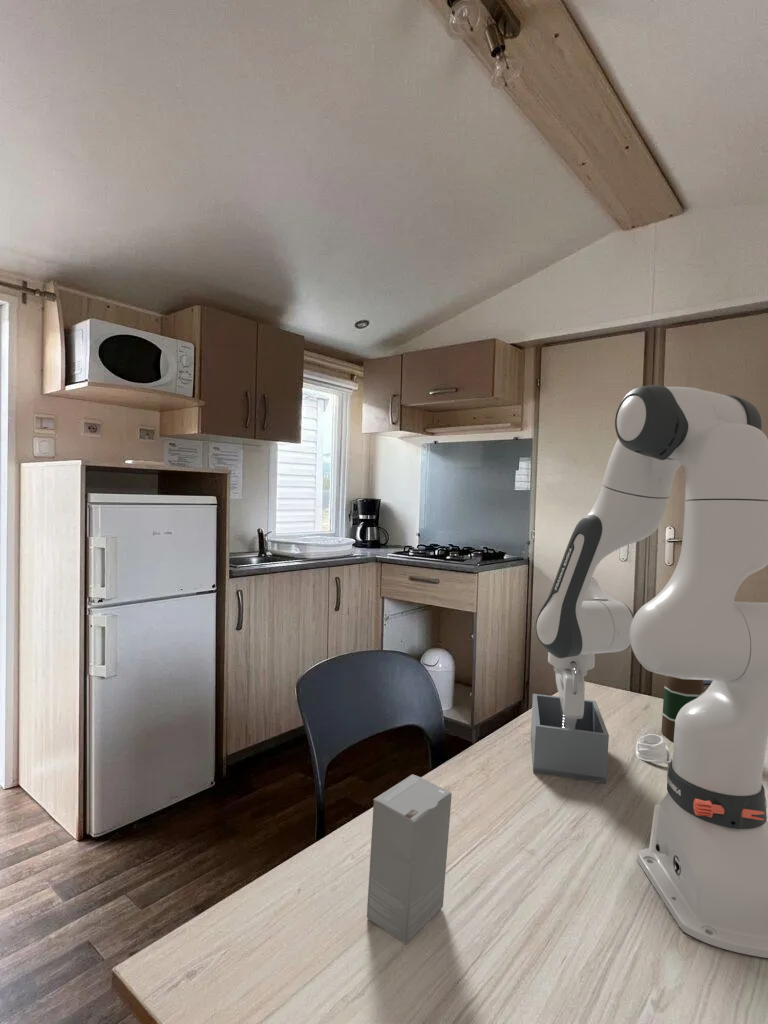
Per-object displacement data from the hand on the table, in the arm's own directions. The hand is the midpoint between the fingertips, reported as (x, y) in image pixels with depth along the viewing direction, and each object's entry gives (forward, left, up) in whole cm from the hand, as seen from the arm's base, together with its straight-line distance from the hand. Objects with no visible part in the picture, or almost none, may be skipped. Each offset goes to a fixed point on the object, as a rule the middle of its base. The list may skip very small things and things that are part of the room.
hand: (567, 723), depth 119 cm
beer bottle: (+18, -26, -7) cm, 32 cm away
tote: (0, 0, -7) cm, 7 cm away
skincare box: (-52, +23, -7) cm, 57 cm away
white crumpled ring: (+5, -18, -7) cm, 20 cm away
